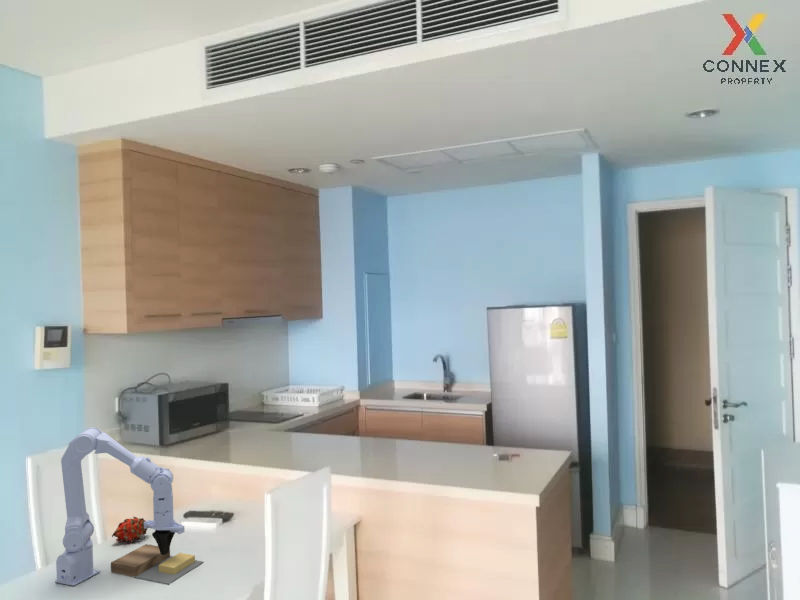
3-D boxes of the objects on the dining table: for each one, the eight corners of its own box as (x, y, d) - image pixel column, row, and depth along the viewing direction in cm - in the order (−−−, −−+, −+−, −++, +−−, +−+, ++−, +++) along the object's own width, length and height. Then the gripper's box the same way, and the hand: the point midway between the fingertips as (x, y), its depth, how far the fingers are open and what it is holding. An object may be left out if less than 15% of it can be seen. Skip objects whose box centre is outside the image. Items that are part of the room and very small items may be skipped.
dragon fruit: (152, 540, 210) (115, 555, 203) (144, 521, 215) (108, 535, 208) (152, 526, 205) (115, 540, 198) (144, 507, 210) (107, 520, 203)
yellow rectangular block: (158, 565, 182) (158, 571, 182) (174, 567, 179) (174, 574, 179) (179, 552, 190) (179, 559, 190) (194, 555, 188) (195, 561, 188)
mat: (168, 584, 174) (168, 583, 174) (134, 577, 179) (134, 576, 179) (203, 562, 188) (203, 561, 188) (171, 556, 192) (171, 555, 192)
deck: (135, 577, 179) (135, 567, 179) (111, 572, 183) (110, 562, 183) (170, 557, 192) (169, 548, 192) (146, 553, 196) (145, 544, 196)
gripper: (190, 508, 187) (192, 551, 187) (155, 503, 193) (156, 545, 193) (174, 516, 180) (175, 560, 181) (138, 510, 186) (139, 554, 186)
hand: (164, 553), depth 186 cm, fingers closed
